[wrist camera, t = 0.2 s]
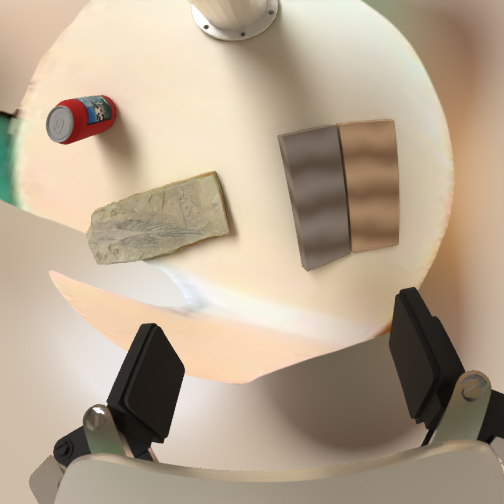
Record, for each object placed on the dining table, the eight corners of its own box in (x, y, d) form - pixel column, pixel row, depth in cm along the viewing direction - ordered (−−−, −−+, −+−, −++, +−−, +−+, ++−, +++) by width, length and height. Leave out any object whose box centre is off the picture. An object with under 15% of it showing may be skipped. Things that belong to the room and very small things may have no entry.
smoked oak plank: (277, 135, 37) (283, 136, 35) (328, 125, 38) (336, 125, 36) (302, 266, 47) (307, 271, 46) (343, 248, 49) (349, 253, 47)
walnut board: (336, 123, 38) (339, 125, 36) (389, 119, 36) (393, 120, 35) (349, 247, 49) (352, 252, 47) (394, 239, 47) (398, 244, 46)
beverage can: (124, 104, 38) (82, 111, 27) (108, 138, 41) (66, 155, 30) (96, 89, 36) (52, 94, 26) (81, 122, 39) (38, 136, 29)
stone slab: (73, 221, 46) (208, 170, 39) (84, 212, 50) (214, 164, 43) (100, 273, 52) (234, 242, 45) (110, 262, 56) (238, 230, 49)
